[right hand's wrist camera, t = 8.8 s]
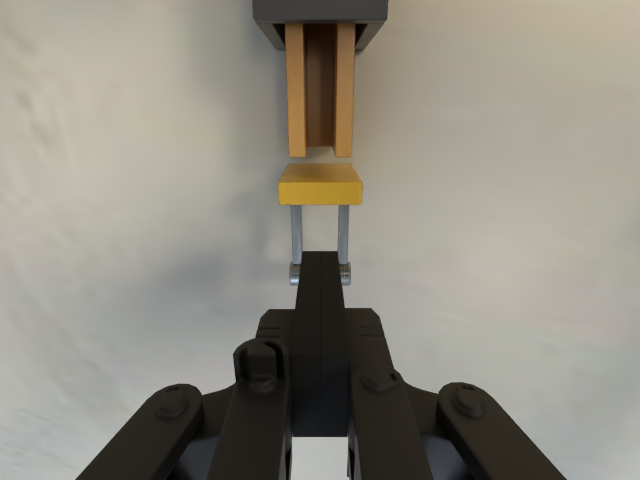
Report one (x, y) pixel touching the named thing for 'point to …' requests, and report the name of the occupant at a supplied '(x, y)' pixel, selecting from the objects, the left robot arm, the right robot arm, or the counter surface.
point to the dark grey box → (320, 17)
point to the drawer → (320, 129)
